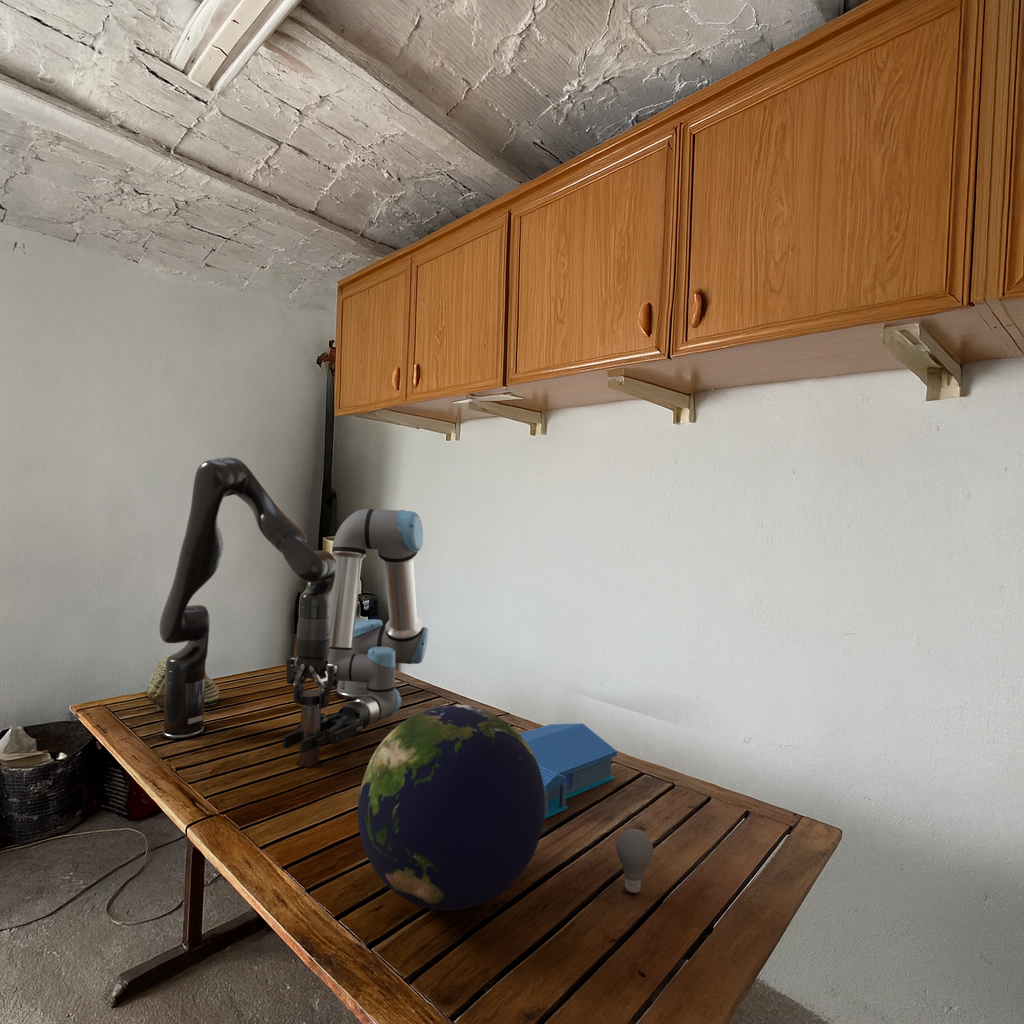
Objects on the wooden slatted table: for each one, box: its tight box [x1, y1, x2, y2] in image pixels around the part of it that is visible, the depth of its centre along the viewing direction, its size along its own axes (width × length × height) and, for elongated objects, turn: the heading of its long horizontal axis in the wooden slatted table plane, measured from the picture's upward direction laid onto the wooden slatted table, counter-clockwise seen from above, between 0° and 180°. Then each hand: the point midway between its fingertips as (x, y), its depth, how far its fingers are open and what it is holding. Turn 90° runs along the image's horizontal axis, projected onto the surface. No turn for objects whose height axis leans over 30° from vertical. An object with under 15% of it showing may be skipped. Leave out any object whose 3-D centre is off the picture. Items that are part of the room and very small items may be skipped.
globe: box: [357, 704, 545, 912], centre depth 102 cm, size 30×30×30 cm
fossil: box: [146, 654, 221, 712], centre depth 185 cm, size 9×18×15 cm, turn 132°
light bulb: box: [615, 828, 654, 894], centre depth 106 cm, size 6×6×10 cm
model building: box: [519, 722, 618, 820], centre depth 142 cm, size 39×24×10 cm, turn 132°
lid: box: [299, 689, 321, 705], centre depth 150 cm, size 6×6×2 cm
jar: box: [298, 704, 322, 768], centre depth 150 cm, size 4×4×16 cm
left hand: (311, 705), depth 150 cm, fingers open, 6 cm apart
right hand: (293, 744), depth 145 cm, fingers closed on jar, 4 cm apart
